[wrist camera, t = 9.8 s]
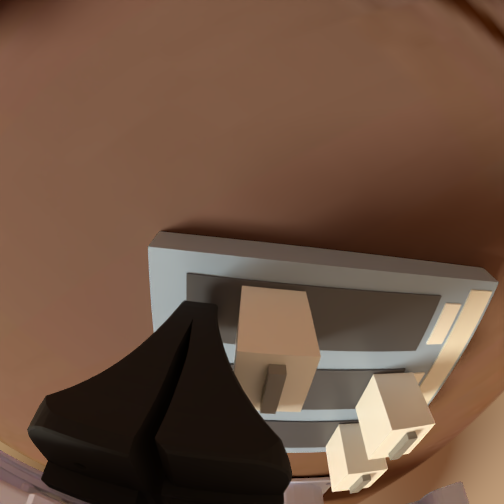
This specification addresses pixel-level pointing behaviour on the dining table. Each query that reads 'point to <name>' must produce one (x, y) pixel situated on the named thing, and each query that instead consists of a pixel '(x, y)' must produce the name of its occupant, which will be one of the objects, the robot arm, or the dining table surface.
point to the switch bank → (331, 315)
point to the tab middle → (393, 415)
